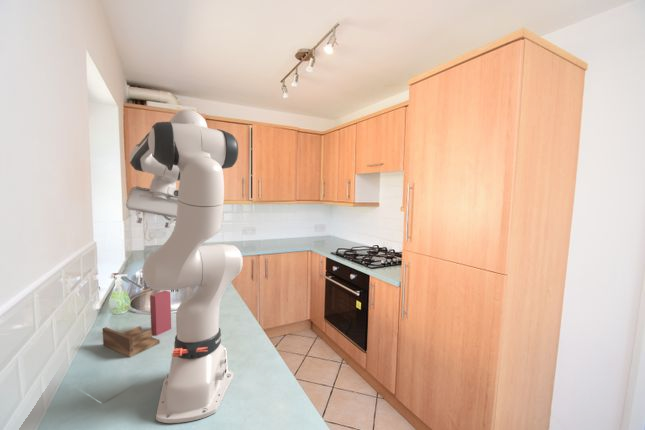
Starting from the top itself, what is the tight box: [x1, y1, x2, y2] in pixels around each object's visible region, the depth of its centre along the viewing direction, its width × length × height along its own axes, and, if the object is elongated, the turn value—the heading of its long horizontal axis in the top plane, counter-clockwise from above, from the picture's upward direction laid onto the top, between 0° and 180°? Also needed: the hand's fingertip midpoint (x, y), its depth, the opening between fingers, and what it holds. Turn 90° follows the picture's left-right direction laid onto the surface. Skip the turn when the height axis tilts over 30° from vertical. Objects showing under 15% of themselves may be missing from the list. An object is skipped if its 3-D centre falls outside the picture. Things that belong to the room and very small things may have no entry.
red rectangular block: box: [149, 290, 172, 336], centre depth 109 cm, size 6×3×15 cm, turn 153°
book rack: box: [102, 325, 160, 358], centre depth 100 cm, size 10×16×6 cm, turn 63°
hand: (153, 225), depth 107 cm, fingers open, 8 cm apart
